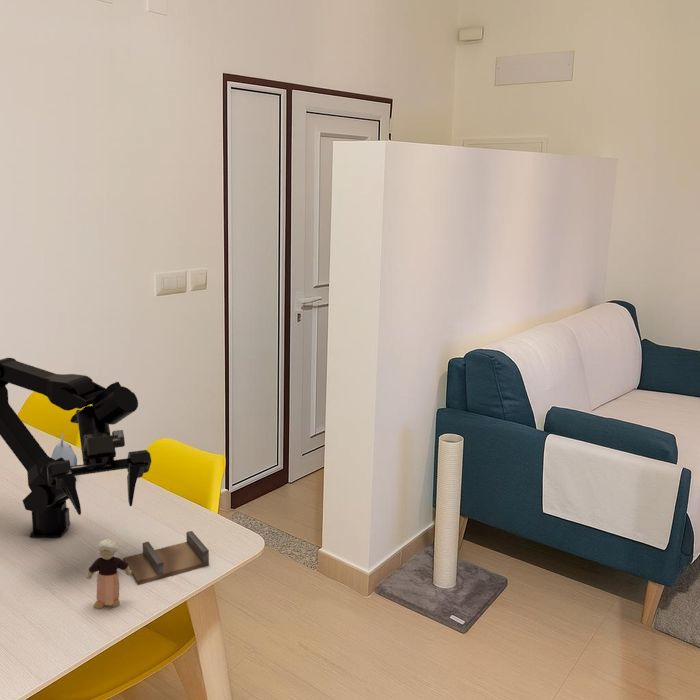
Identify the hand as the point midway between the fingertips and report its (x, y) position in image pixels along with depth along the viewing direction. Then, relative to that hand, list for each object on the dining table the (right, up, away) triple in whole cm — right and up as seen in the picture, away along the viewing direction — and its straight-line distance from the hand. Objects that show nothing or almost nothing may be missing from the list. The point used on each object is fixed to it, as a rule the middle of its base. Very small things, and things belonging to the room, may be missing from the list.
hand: (105, 509), depth 137 cm
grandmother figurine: (+3, -16, -5) cm, 17 cm away
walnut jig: (+9, -13, +8) cm, 18 cm away
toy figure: (-25, -2, +43) cm, 50 cm away
